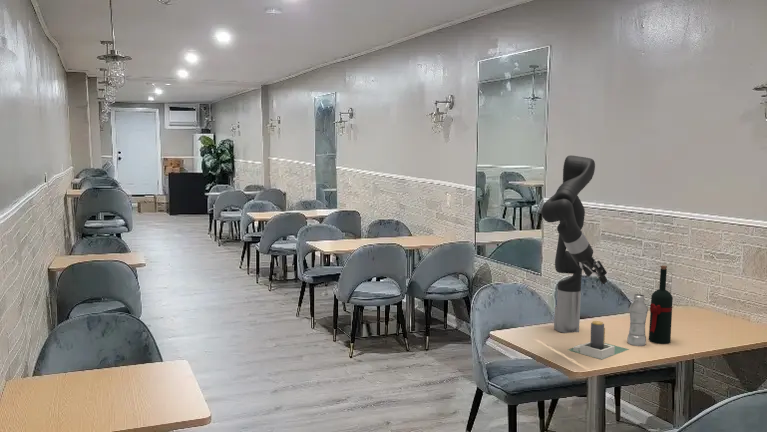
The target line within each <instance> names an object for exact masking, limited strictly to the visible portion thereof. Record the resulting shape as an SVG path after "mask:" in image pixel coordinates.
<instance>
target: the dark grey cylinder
mask: <svg viewBox="0 0 767 432" xmlns="http://www.w3.org/2000/svg"><path fill="white" fill-rule="evenodd" d="M605 334H606V327H605V323H604V322H602V321H597V320H593V321H592V322H590V341H589V342H590V347H592V348H595V349H599V350H602V349H603V348H604V343H606V341H605V339H606V338H605V337H606V335H605Z"/></svg>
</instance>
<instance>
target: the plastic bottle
mask: <svg viewBox="0 0 767 432" xmlns="http://www.w3.org/2000/svg"><path fill="white" fill-rule="evenodd" d="M644 301H646V300H645V295H644V294H641V293H640V294H639V293H638V294H637V293H635V294H633V302H631V304H630V305H629V310H628V311H629V329H628V334H627V345H630V346H635V347H644V346H645V345H646V343H647V336H646V322H647V321H646V320H647V316H648V311H649V308H648V306H647V304H646V303H645V302H644Z"/></svg>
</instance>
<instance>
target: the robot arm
mask: <svg viewBox="0 0 767 432" xmlns="http://www.w3.org/2000/svg"><path fill="white" fill-rule="evenodd" d="M595 171H596V161H594V159H593V158H590V157H585V156H578V155H568V156H566V157H565V159H564V161H563V169H562V183H561V184H560V185H559V187H558V188H557V190H556V192H555V194H554V195H552V196H551V197H549V198H548V199H547V200H546V201H545V202H544V203H543V204H542V207H541V216H542V218H543V220H544V221H545V222H546V223H556V222H559V223H558V225H557V228H556V229H557V233H558V240H557V247H556V252H555V260H554V268H555V271H556V272H557V273H558V274H568V275H569V274H571V275H572V276H570V277H568V278H567V279H564V280H560V281H559V282H558V284H557V293H556V295H557V296H556V297H557V298H556V299H557V300H556V306H555V307H554V318H553V320H554V321H553V329H554V330H556V331H557V332H559V333H563V334H569V333H570V334H571V333H573V334H574V333H579V332H580V322H581V321H580V320H581V319H580V317H581V300H582V299H581V297H582V277H583V276H582V275H583V273H584V274H585V275H586V277H587V278H588V277H590V276H591V275H592V274H595V275H596V276H597V278H598V279H599V281H600V283H601V284H602V285H605V283H607V282H608V278H607V277H606V275H607V270H606V268H605V267H604V265H603V264H602V262H601V261H600V260H597V261H596V259H595V258H594V256H593V255H594V249H593V248H592V246H591V244H590V241H589V240H588V238H587V237H586V235H585V234H584V233H583V232H582V229H583V228H584V223H585V217H586V216H585V215H586V214H585V213H586V210H585V207H584V204H583V202H582V200H581V199H580V197H579V196H578V195H579V194H580V192H582V190H583V189H584V188H586V186H588V184H589V183H590V182H591V181H592V179H593V178H594V175H595Z"/></svg>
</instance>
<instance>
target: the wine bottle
mask: <svg viewBox="0 0 767 432" xmlns="http://www.w3.org/2000/svg"><path fill="white" fill-rule="evenodd" d="M667 268H668V267H667V265H660V270H659V271H660V272H659V274H660V275H659V289H657V290H655V291H653V293H652V294H651V299H650V301H651V302H650V304H649V305H650V306H649V312H650V313H649V314H650V315H649V329H648V342H650V343H653V344H657V345H658V344H659V345H669V344H670V343H671V335H672V317H673V300H674V299H673V295H672V293H671V292H670V291H668V290H667V288H666V286H667V273H668V271H667V270H668V269H667Z"/></svg>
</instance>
